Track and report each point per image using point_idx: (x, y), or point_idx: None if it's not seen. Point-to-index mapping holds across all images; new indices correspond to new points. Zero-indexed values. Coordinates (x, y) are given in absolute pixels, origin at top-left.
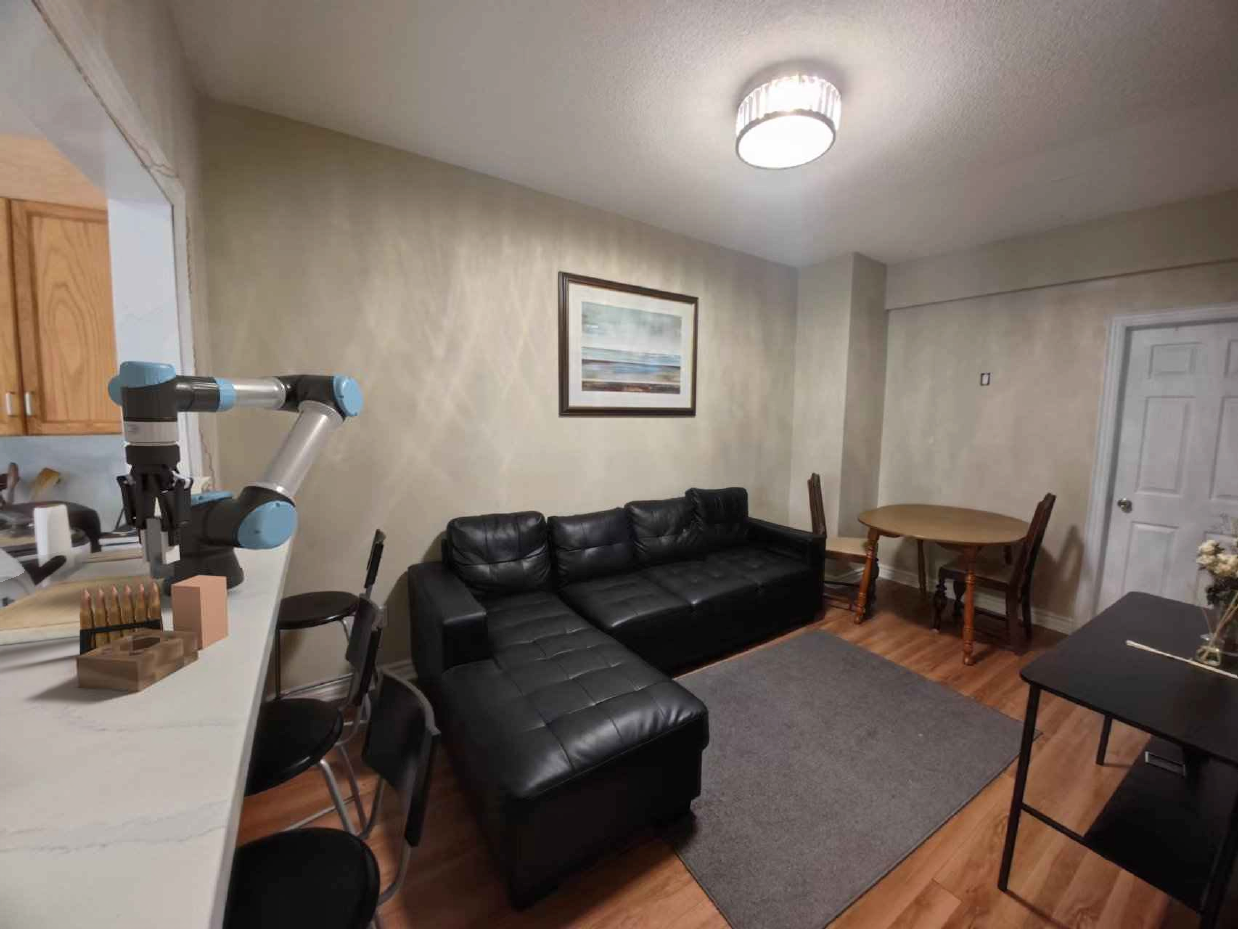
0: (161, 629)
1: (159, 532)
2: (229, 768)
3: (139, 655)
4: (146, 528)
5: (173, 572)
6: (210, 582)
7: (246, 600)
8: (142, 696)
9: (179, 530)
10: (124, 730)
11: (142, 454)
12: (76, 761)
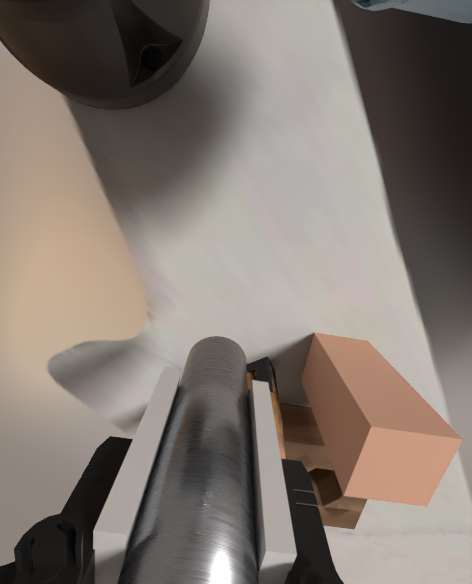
0: (274, 382)
1: None
2: None
3: (344, 515)
4: (91, 574)
5: (245, 359)
6: (438, 479)
7: (308, 140)
8: None
9: (333, 571)
10: (371, 535)
11: None
12: (359, 564)
